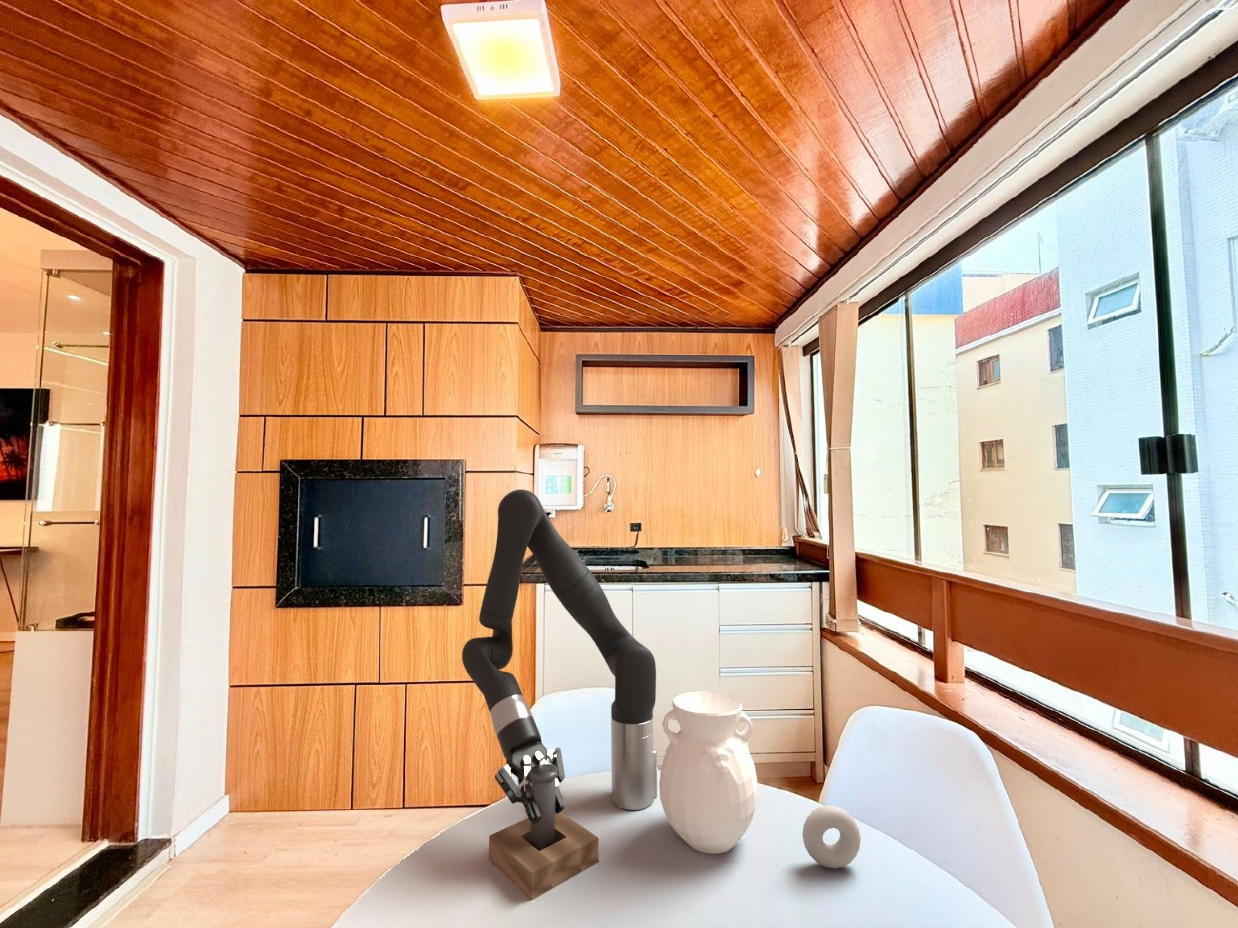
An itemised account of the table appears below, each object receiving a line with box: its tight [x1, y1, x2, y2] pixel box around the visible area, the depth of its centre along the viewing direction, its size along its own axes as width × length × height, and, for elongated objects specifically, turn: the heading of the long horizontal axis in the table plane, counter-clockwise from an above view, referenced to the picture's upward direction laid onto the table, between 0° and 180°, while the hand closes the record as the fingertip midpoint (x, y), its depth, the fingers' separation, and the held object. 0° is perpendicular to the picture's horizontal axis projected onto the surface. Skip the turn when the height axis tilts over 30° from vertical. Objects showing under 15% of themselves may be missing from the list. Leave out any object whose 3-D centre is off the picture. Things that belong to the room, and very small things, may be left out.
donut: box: [802, 804, 862, 870], centre depth 93 cm, size 10×4×10 cm, turn 90°
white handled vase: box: [658, 690, 759, 855], centre depth 102 cm, size 19×18×25 cm
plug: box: [530, 763, 558, 851], centre depth 95 cm, size 5×5×13 cm
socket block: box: [488, 811, 600, 901], centre depth 95 cm, size 14×14×4 cm
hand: (549, 815), depth 94 cm, fingers closed on plug, 4 cm apart
